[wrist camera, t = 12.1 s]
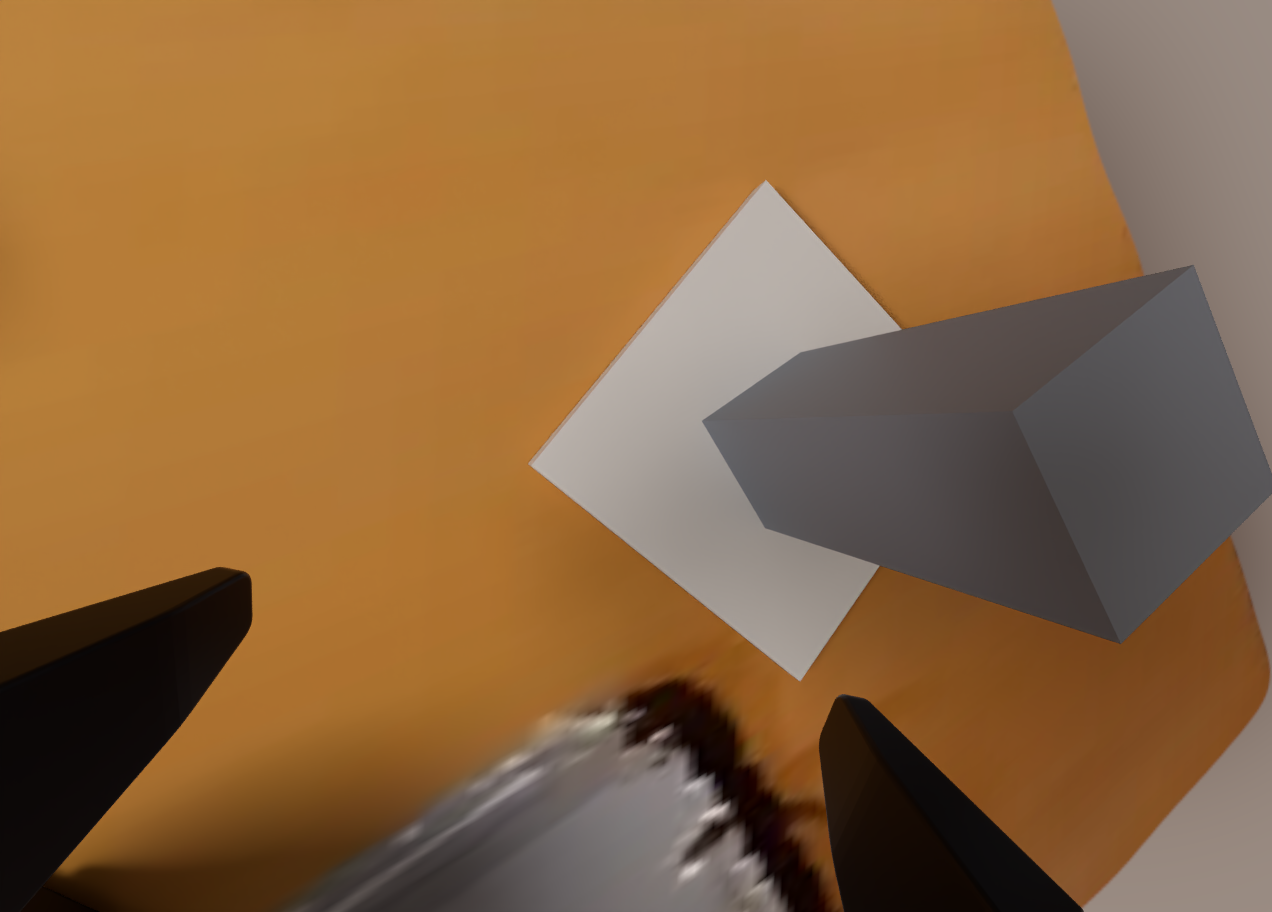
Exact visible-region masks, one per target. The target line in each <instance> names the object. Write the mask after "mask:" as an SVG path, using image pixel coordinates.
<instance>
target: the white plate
mask: <svg viewBox="0 0 1272 912" xmlns="http://www.w3.org/2000/svg"><path fill="white" fill-rule="evenodd" d="M899 330H902V329H901V328H900V327H899V326H898V325H897V324H896V323H895V321H894V320H893V319H892V318H891V317H890V316H889V315H888V314H887V313H886V312H885V310H884V309H883V308H882V307H881V306H880V305H879V304H878V303H877V302H876V301H875V299H874V298H873V297H872V296H871V295H870V294H869V293H868V292H867V291H866V290H865V288H864V287H863V286H862V285H861V284H860V283H859V282H858V281H857V280H856V279H855V277H854V276H853V275H852V274H851V273H850V272H849V271H848V270H847V269H846V268H845V266H844V265H843V264H842V263H841V262H840V261H839V260H838V259H837V258H836V257H835V255H834V254H833V253H832V252H831V251H830V250H829V249H828V248H827V247H826V246H825V244H824V243H823V242H822V241H821V240H820V239H819V238H818V237H817V236H816V235H815V233H814V232H813V231H812V230H811V229H810V228H809V227H808V226H807V225H806V224H805V222H804V221H803V220H802V219H801V218H800V217H799V216H798V215H797V214H796V213H795V211H794V210H793V209H792V208H791V207H790V206H789V205H788V204H787V203H786V202H785V200H784V199H783V198H782V197H781V196H780V195H779V194H778V193H777V192H776V191H775V189H774V188H773V187H772V186H771V185H770V184H769V183H768V182H767V181H764V182H763V183H762V184H761V185H759V186H758V187H757V188H756V189H754V190H753V191H752V193H751V194H750V195H749V196H748V198H747V199H746V200H745V201H744V202H743V204H742V205H741V206H740V207H739V208H738V210H737V211H736V212H735V213H734V215H733V216H732V217H731V218H730V219H729V221H728V222H727V223H726V224H725V225H724V227H723V228H722V229H721V230H720V231H719V233H718V234H717V235H716V236H715V238H714V239H713V240H712V241H711V242H710V244H709V245H708V246H707V247H706V248H705V250H704V251H703V252H702V253H701V255H700V256H699V257H698V258H697V259H696V261H695V262H694V263H693V264H692V265H691V267H690V268H689V269H688V270H687V272H686V273H685V274H684V275H683V276H682V278H681V279H680V280H679V281H678V282H677V284H676V285H675V286H674V287H673V288H672V290H671V291H670V292H669V293H668V295H667V296H666V297H665V298H664V299H663V301H662V302H661V303H660V304H659V305H658V307H657V308H656V309H655V310H654V312H653V313H652V314H651V315H650V316H649V318H648V319H647V320H646V321H645V322H644V324H643V325H642V326H641V327H640V328H639V330H638V331H637V332H636V333H635V335H634V336H633V337H632V338H631V339H630V341H629V342H628V343H627V344H626V345H625V347H624V348H623V349H622V350H621V352H620V353H619V354H618V355H617V356H616V358H615V359H614V360H613V361H612V362H611V364H610V365H609V366H608V367H607V369H606V370H605V371H604V372H603V373H602V375H601V376H600V377H599V378H598V379H597V381H596V382H595V383H594V384H593V385H592V387H591V388H590V389H589V390H588V392H587V393H586V394H585V395H584V396H583V398H582V399H581V400H580V401H579V402H578V404H577V405H576V406H575V407H574V409H573V410H572V411H571V412H570V413H569V415H568V416H567V417H566V418H565V419H564V421H563V422H562V423H561V424H560V425H559V427H558V428H557V429H556V430H555V432H554V433H553V434H552V435H551V436H550V438H549V439H548V440H547V441H546V442H545V444H544V445H543V446H542V447H541V449H540V450H539V451H538V452H537V453H536V455H535V456H534V457H533V458H532V459H531V461H530V462H529V463H528V464H529V465H530V466H531V467H532V468H534V469H535V470H536V471H537V472H539V473H540V474H541V475H542V476H544V477H545V478H546V479H547V480H548V481H550V482H551V483H552V484H553V485H555V486H556V487H557V488H558V489H560V490H561V491H562V492H563V493H565V494H566V495H567V496H568V497H570V498H571V499H572V500H573V501H575V502H576V503H577V504H578V505H580V506H581V507H582V508H583V509H585V510H586V511H587V512H588V513H590V514H591V515H592V516H593V517H595V518H596V519H597V520H598V521H600V522H601V523H602V524H603V525H605V526H606V527H607V528H608V529H610V530H611V531H612V532H613V533H615V534H616V535H617V536H618V537H620V538H621V539H622V540H623V541H625V542H626V543H627V544H628V545H629V546H631V547H632V548H633V549H634V550H636V551H637V552H638V553H639V554H641V555H642V556H643V557H644V558H646V559H647V560H648V561H649V562H651V563H652V564H653V565H654V566H656V567H657V568H658V569H659V570H661V571H662V572H663V573H664V574H666V575H667V576H668V577H669V578H671V579H672V580H673V581H674V582H676V583H677V584H678V585H679V586H681V587H682V588H683V589H684V590H686V591H687V592H688V593H689V594H691V595H692V596H693V597H694V598H696V599H697V600H698V601H699V602H701V603H702V604H703V605H704V606H706V607H707V608H708V609H709V610H711V611H712V612H713V613H714V614H715V615H717V616H718V617H719V618H720V619H722V620H723V621H724V622H725V623H727V624H728V625H729V626H730V627H732V628H733V629H734V630H735V631H737V632H738V633H739V634H740V635H742V636H743V637H744V638H745V639H747V640H748V641H749V642H750V643H752V644H753V645H754V646H755V647H757V648H758V649H759V650H760V651H762V652H763V653H764V654H765V655H767V656H768V657H769V658H770V659H772V660H773V661H774V662H775V663H777V664H778V665H779V666H780V667H782V668H783V669H784V670H785V671H787V672H788V673H789V674H791V675H792V676H793V677H795V678H796V679H797V680H799V681H801V679H802V678H803V677H804V675H805V674H806V672H807V671H808V669H809V668H810V666H811V665H812V663H813V662H814V661H815V659H816V658H817V656H818V655H819V653H820V652H821V650H822V649H823V647H824V646H825V645H826V643H827V642H828V640H829V639H830V637H831V636H832V634H833V633H834V631H835V630H836V629H837V627H838V626H839V624H840V623H841V621H842V620H843V618H844V617H845V615H846V614H847V613H848V611H849V610H850V608H851V607H852V605H853V604H854V602H855V601H856V599H857V598H858V597H859V595H860V594H861V592H862V591H863V589H864V588H865V586H866V585H867V583H868V582H869V581H870V579H871V578H872V576H873V575H874V573H875V572H876V570H877V569H878V567H879V566H880V565H877V564H874V563H871V562H867V561H864V560H861V559H858V558H855V557H852V556H849V555H846V554H843V553H840V552H837V551H834V550H831V549H828V548H824V547H821V546H818V545H815V544H812V543H809V542H806V541H803V540H800V539H797V538H794V537H791V536H788V535H784V534H781V533H778V532H775V531H772V530H769V529H766V528H765V527H764V525H763V524H762V522H761V520H760V519H759V517H758V515H757V514H756V512H755V510H754V509H753V507H752V505H751V503H750V502H749V500H748V498H747V497H746V495H745V493H744V492H743V490H742V488H741V487H740V485H739V483H738V481H737V480H736V478H735V476H734V475H733V473H732V471H731V470H730V468H729V466H728V465H727V463H726V461H725V459H724V458H723V456H722V454H721V453H720V451H719V449H718V448H717V446H716V444H715V443H714V441H713V439H712V437H711V436H710V434H709V432H708V431H707V429H706V427H705V426H704V424H703V422H702V420H704V419H705V418H707V417H708V416H709V415H711V414H712V413H714V412H715V411H717V410H718V409H720V408H721V407H722V406H724V405H725V404H727V403H728V402H730V401H731V400H733V399H734V398H735V397H737V396H738V395H740V394H741V393H743V392H744V391H745V390H747V389H748V388H750V387H751V386H753V385H754V384H756V383H757V382H758V381H760V380H761V379H763V378H764V377H766V376H767V375H769V374H770V373H771V372H773V371H774V370H776V369H777V368H779V367H780V366H782V365H783V364H784V363H786V362H787V361H789V360H790V359H792V358H793V357H794V356H796V355H797V354H799V353H800V352H804V351H809V350H813V349H818V348H822V347H827V346H831V345H836V344H840V343H845V342H849V341H854V340H858V339H863V338H867V337H872V336H876V335H881V334H885V333H890V332H894V331H899Z"/></svg>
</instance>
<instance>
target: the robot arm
mask: <svg viewBox="0 0 1272 912" xmlns="http://www.w3.org/2000/svg"><path fill="white" fill-rule="evenodd" d="M251 623H252V583H251V578H250V576H249V574H248V573H246V572H244V571H240V570H235V569H230V568H225V567H217V568H213V569H209V570H206V571H203V572H199V573H196V574H193V575H189V576H186V577H183V578H179V579H176V580H173V581H169V582H166V583H163V584H159V585H156V586H153V587H149V588H146V589H143V590H139V591H136V592H133V593H129V594H126V595H123V596H119V597H116V598H113V599H109V600H106V601H103V602H99V603H96V604H93V605H89V606H86V607H83V608H79V609H76V610H73V611H69V612H66V613H62V614H59V615H56V616H52V617H49V618H46V619H42V620H39V621H36V622H32V623H29V624H26V625H22V626H19V627H16V628H12V629H9V630H6V631H2V632H0V912H99V911H96V910H94V909H92V908H90V907H87V906H85V905H83V904H81V903H79V902H76V901H74V900H72V899H70V898H68V897H65V896H63V895H61V894H59V893H57V892H54V891H52V890H50V889H48V888H46V887H43V885H44V884H45V882H46V881H47V880H48V879H49V878H50V877H51V876H52V874H53V873H54V872H55V871H56V870H57V869H58V867H59V866H60V865H61V864H62V863H63V862H64V861H65V859H66V858H67V857H68V856H69V855H70V854H71V852H72V851H73V850H74V849H75V848H76V847H77V846H78V844H79V843H80V842H81V841H82V840H83V839H84V837H85V836H86V835H87V834H88V833H89V832H90V830H91V829H92V828H93V827H94V826H95V825H96V824H97V822H98V821H99V820H100V819H101V818H102V817H103V815H104V814H105V813H106V812H107V811H108V810H109V809H110V807H111V806H112V805H113V804H114V803H115V802H116V800H117V799H118V798H119V797H120V796H121V795H122V794H123V792H124V791H125V790H126V789H127V788H128V787H129V785H130V784H131V783H132V782H133V781H134V780H135V779H136V777H137V776H138V775H139V774H140V773H141V772H142V770H143V769H144V768H145V767H146V766H147V765H148V764H149V762H150V761H151V760H152V759H153V758H154V757H155V755H156V754H157V753H158V752H159V751H160V750H161V749H162V747H163V746H164V745H165V744H166V743H167V742H168V740H169V739H170V738H171V737H172V736H173V734H174V733H175V732H176V731H177V730H178V728H179V727H180V726H181V725H182V723H183V722H184V721H185V719H186V718H187V717H188V715H189V714H190V713H191V711H192V710H193V709H194V707H195V706H196V705H197V703H198V702H199V700H200V699H201V698H202V696H203V695H204V693H205V692H206V691H207V689H208V688H209V686H210V685H211V684H212V682H213V681H214V679H215V678H216V677H217V675H218V674H219V672H220V671H221V670H222V668H223V667H224V665H225V664H226V663H227V661H228V660H229V658H230V657H231V656H232V654H233V653H234V651H235V650H236V649H237V647H238V646H239V644H240V643H241V642H242V640H243V639H244V637H245V636H246V634H247V633H248V631H249V629H250V626H251ZM819 753H820V762H821V770H822V779H823V787H824V796H825V804H826V812H827V821H828V829H829V838H830V845H831V852H832V858H833V863H834V868H835V873H836V877H837V882H838V886H839V891H840V895H841V900H842V904H843V909H844V912H1084V911H1083V909H1082V908H1081V907H1080V906H1079V905H1078V904H1077V903H1076V902H1075V901H1074V900H1073V899H1072V898H1071V897H1070V896H1069V895H1068V894H1067V893H1066V892H1065V891H1064V890H1063V889H1061V888H1060V887H1059V886H1058V885H1057V884H1056V883H1055V882H1054V881H1053V880H1052V879H1051V878H1050V877H1049V876H1048V875H1047V874H1046V873H1045V872H1044V871H1043V870H1042V869H1041V868H1040V867H1039V866H1038V865H1037V864H1036V863H1035V862H1034V861H1033V860H1032V859H1031V858H1030V857H1029V856H1028V855H1027V854H1026V853H1024V852H1023V851H1022V850H1021V849H1020V848H1019V847H1018V846H1017V845H1016V844H1015V843H1014V842H1013V841H1012V840H1011V839H1010V838H1009V837H1008V836H1007V835H1006V834H1005V833H1004V832H1003V831H1002V830H1001V829H1000V828H999V827H998V826H997V825H996V824H995V823H994V822H993V821H992V820H991V819H990V818H988V817H987V816H986V815H985V814H984V813H983V812H982V811H981V810H980V809H979V808H978V807H977V806H976V805H975V804H974V803H973V802H972V801H971V800H970V799H969V798H968V797H967V796H966V795H965V794H964V793H963V792H962V791H961V790H960V789H959V788H958V787H957V786H956V785H955V784H954V783H953V782H951V781H950V780H949V779H948V778H947V777H946V776H945V775H944V774H943V773H942V772H941V771H940V770H939V769H938V768H937V767H936V766H935V765H934V764H933V763H932V762H931V761H930V760H929V759H928V758H927V757H926V756H925V755H924V754H923V753H922V752H921V751H920V750H919V749H918V748H917V747H916V746H914V745H913V744H912V743H911V742H910V741H909V740H908V739H907V738H906V737H905V736H904V735H903V734H902V733H901V732H900V731H899V730H898V729H897V728H896V727H895V726H894V725H893V724H892V723H891V722H890V721H889V720H888V719H887V718H886V717H885V716H884V715H883V714H882V713H881V712H880V711H879V710H877V709H876V708H875V707H874V706H873V705H872V704H871V703H870V702H869V701H868V700H866V699H864V698H860V697H855V696H850V695H845V694H842V695H839V696H838V697H837V698H836V699H835V701H834V703H833V706H832V708H831V710H830V713H829V715H828V718H827V720H826V722H825V725H824V727H823V730H822V732H821V735H820V741H819Z"/></svg>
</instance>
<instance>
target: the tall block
mask: <svg viewBox="0 0 1272 912" xmlns="http://www.w3.org/2000/svg"><path fill="white" fill-rule="evenodd" d="M702 422H703V424H704V426H705V427H706V429H707V431H708V432H709V434H710V436H711V437H712V439H713V441H714V443H715V444H716V446H717V448H718V449H719V451H720V453H721V454H722V456H723V458H724V459H725V461H726V463H727V465H728V466H729V468H730V470H731V471H732V473H733V475H734V476H735V478H736V480H737V481H738V483H739V485H740V487H741V488H742V490H743V492H744V493H745V495H746V497H747V498H748V500H749V502H750V503H751V505H752V507H753V509H754V510H755V512H756V514H757V515H758V517H759V519H760V520H761V522H762V524H763V525H764V527H765V528H766V529H769V530H772V531H775V532H778V533H781V534H784V535H788V536H791V537H794V538H797V539H800V540H803V541H806V542H809V543H812V544H815V545H818V546H821V547H824V548H828V549H831V550H834V551H837V552H840V553H843V554H846V555H849V556H852V557H855V558H858V559H861V560H864V561H867V562H871V563H874V564H877V565H880V566H883V567H886V568H889V569H892V570H895V571H898V572H901V573H904V574H907V575H911V576H914V577H917V578H920V579H923V580H926V581H929V582H932V583H935V584H938V585H941V586H944V587H947V588H951V589H954V590H957V591H960V592H963V593H966V594H969V595H972V596H975V597H978V598H981V599H984V600H987V601H991V602H994V603H997V604H1000V605H1003V606H1006V607H1009V608H1012V609H1015V610H1018V611H1021V612H1024V613H1027V614H1030V615H1034V616H1037V617H1040V618H1043V619H1046V620H1049V621H1052V622H1055V623H1058V624H1061V625H1064V626H1067V627H1070V628H1074V629H1077V630H1080V631H1083V632H1086V633H1089V634H1092V635H1095V636H1098V637H1101V638H1104V639H1107V640H1110V641H1114V642H1117V643H1120V644H1121V643H1122V642H1123V641H1124V640H1125V639H1126V638H1127V637H1128V636H1129V635H1130V634H1131V633H1132V632H1133V631H1134V630H1135V629H1136V628H1137V627H1138V626H1139V625H1140V624H1141V623H1142V622H1143V621H1144V620H1146V619H1147V618H1148V617H1149V616H1150V615H1151V614H1152V613H1153V612H1154V611H1155V610H1156V609H1157V608H1158V607H1159V606H1160V605H1161V604H1162V603H1163V602H1164V601H1165V600H1166V599H1167V598H1168V597H1169V596H1170V595H1171V594H1172V593H1173V592H1174V591H1175V590H1176V589H1177V588H1178V587H1179V586H1180V585H1181V584H1182V583H1183V582H1184V581H1185V580H1186V579H1187V578H1188V577H1189V576H1190V575H1191V574H1192V573H1193V572H1194V571H1195V570H1196V569H1197V568H1198V567H1199V566H1200V565H1201V564H1202V563H1203V562H1204V561H1205V560H1206V559H1207V558H1208V557H1209V556H1210V555H1211V554H1212V553H1213V552H1214V551H1215V550H1216V549H1217V548H1218V547H1219V546H1220V545H1221V544H1222V543H1223V542H1224V541H1225V540H1226V539H1227V538H1228V537H1229V536H1230V535H1231V534H1232V533H1233V532H1234V531H1235V530H1236V529H1237V528H1238V527H1239V526H1240V525H1241V524H1242V523H1243V522H1244V521H1245V520H1246V519H1247V518H1248V517H1249V516H1250V515H1251V514H1252V513H1253V512H1254V511H1255V510H1256V509H1257V508H1258V507H1259V506H1260V505H1261V504H1262V503H1263V502H1264V501H1265V500H1266V499H1267V498H1268V497H1269V496H1270V495H1271V494H1272V473H1271V471H1270V468H1269V465H1268V463H1267V460H1266V457H1265V454H1264V452H1263V450H1262V446H1261V444H1260V441H1259V438H1258V436H1257V433H1256V430H1255V428H1254V425H1253V422H1252V420H1251V417H1250V414H1249V412H1248V409H1247V406H1246V404H1245V401H1244V398H1243V396H1242V393H1241V390H1240V388H1239V385H1238V382H1237V380H1236V377H1235V374H1234V372H1233V369H1232V366H1231V364H1230V361H1229V358H1228V356H1227V353H1226V350H1225V348H1224V345H1223V342H1222V340H1221V337H1220V334H1219V332H1218V329H1217V326H1216V324H1215V321H1214V318H1213V316H1212V313H1211V310H1210V308H1209V305H1208V302H1207V300H1206V297H1205V294H1204V292H1203V289H1202V286H1201V284H1200V281H1199V278H1198V275H1197V273H1196V270H1195V267H1194V265H1191V266H1187V267H1183V268H1178V269H1173V270H1169V271H1164V272H1160V273H1155V274H1151V275H1146V276H1142V277H1137V278H1133V279H1128V280H1124V281H1119V282H1115V283H1110V284H1106V285H1101V286H1097V287H1092V288H1088V289H1083V290H1079V291H1074V292H1070V293H1065V294H1061V295H1056V296H1052V297H1047V298H1043V299H1038V300H1034V301H1029V302H1025V303H1020V304H1016V305H1011V306H1007V307H1002V308H998V309H993V310H989V311H984V312H980V313H975V314H971V315H966V316H962V317H957V318H953V319H948V320H944V321H939V322H935V323H930V324H926V325H921V326H917V327H912V328H908V329H903V330H899V331H894V332H890V333H885V334H881V335H876V336H872V337H867V338H863V339H858V340H854V341H849V342H845V343H840V344H836V345H831V346H827V347H822V348H818V349H813V350H809V351H804V352H800V353H799V354H797V355H796V356H794V357H793V358H792V359H790V360H789V361H787V362H786V363H784V364H783V365H782V366H780V367H779V368H777V369H776V370H774V371H773V372H771V373H770V374H769V375H767V376H766V377H764V378H763V379H761V380H760V381H758V382H757V383H756V384H754V385H753V386H751V387H750V388H748V389H747V390H745V391H744V392H743V393H741V394H740V395H738V396H737V397H735V398H734V399H733V400H731V401H730V402H728V403H727V404H725V405H724V406H722V407H721V408H720V409H718V410H717V411H715V412H714V413H712V414H711V415H709V416H708V417H707V418H705V419H704V420H702Z"/></svg>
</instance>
